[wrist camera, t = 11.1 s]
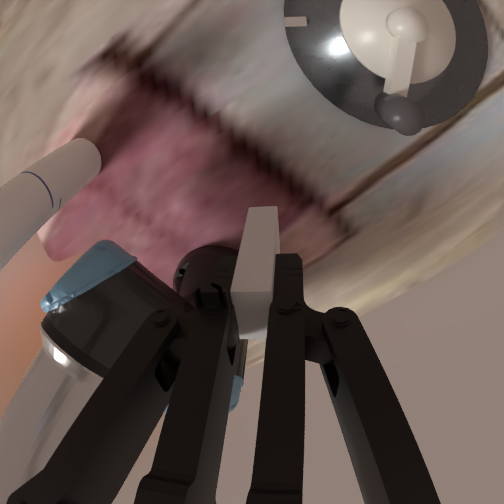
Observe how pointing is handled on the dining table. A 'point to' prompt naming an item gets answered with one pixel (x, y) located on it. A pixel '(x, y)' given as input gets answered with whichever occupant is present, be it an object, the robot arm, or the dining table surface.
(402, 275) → the dining table surface
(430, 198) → the dining table surface
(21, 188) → the cylindrical container
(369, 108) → the dial plate
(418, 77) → the dial
